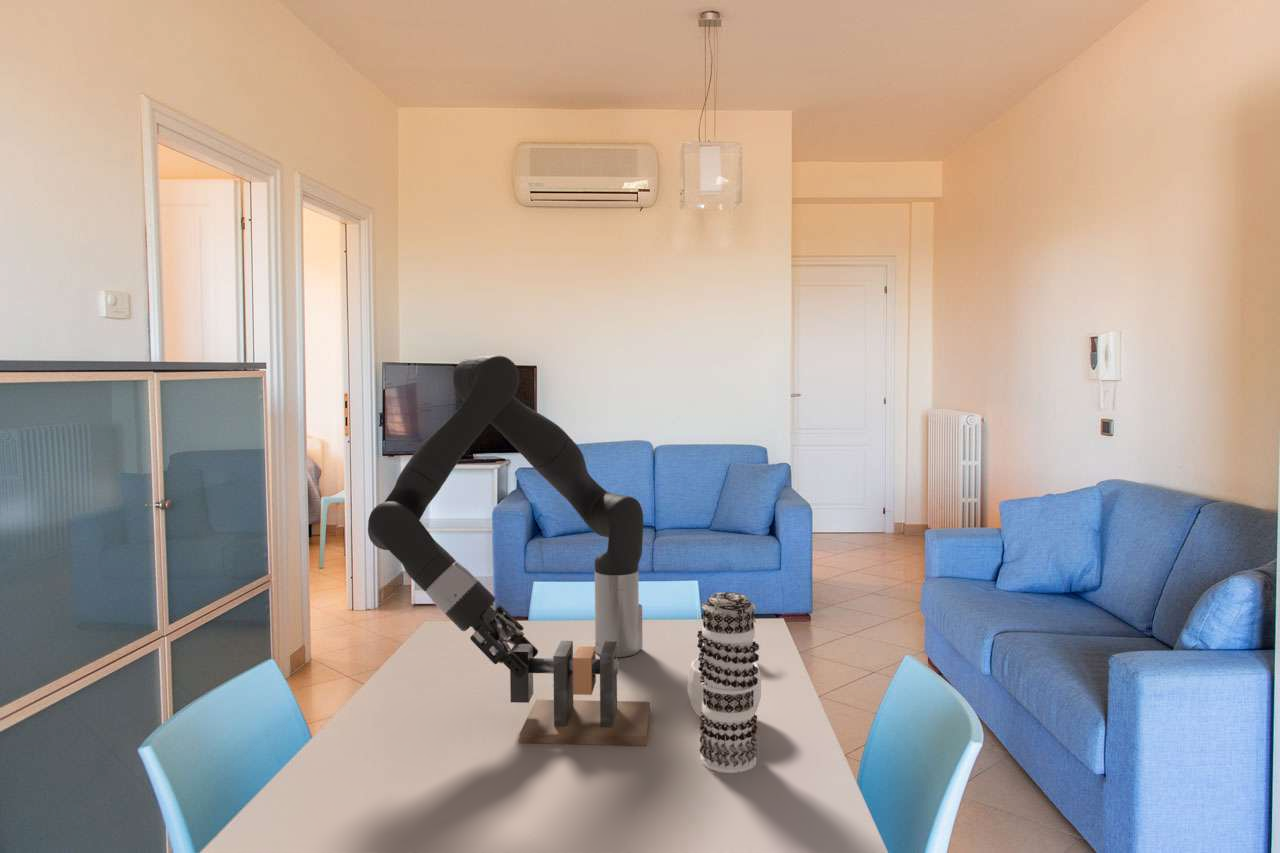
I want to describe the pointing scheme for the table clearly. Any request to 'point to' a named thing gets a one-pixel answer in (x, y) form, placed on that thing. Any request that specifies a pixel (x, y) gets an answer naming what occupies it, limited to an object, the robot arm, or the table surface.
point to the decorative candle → (728, 683)
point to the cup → (697, 690)
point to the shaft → (524, 685)
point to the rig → (586, 709)
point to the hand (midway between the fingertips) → (529, 664)
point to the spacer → (583, 670)
